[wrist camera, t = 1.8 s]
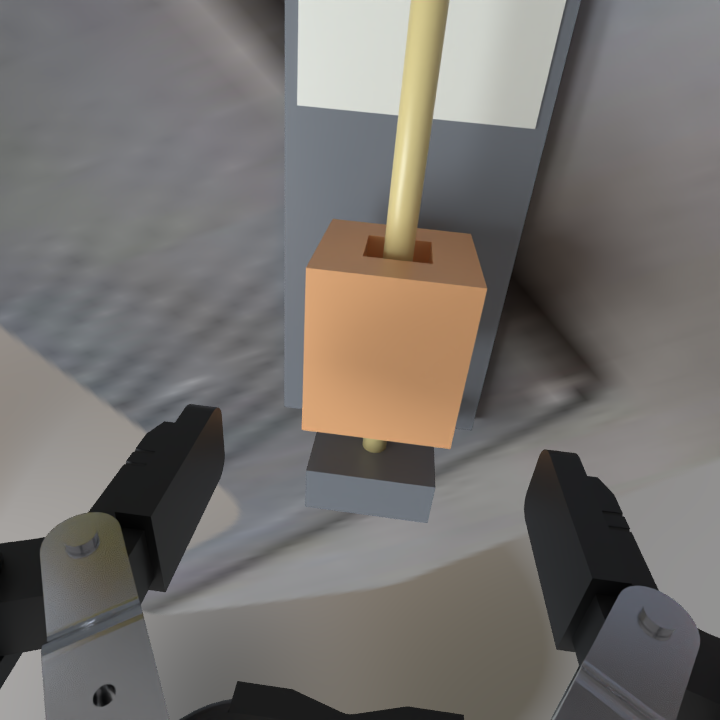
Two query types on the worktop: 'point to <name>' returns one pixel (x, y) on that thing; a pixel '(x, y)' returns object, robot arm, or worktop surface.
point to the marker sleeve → (389, 334)
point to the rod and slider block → (411, 176)
